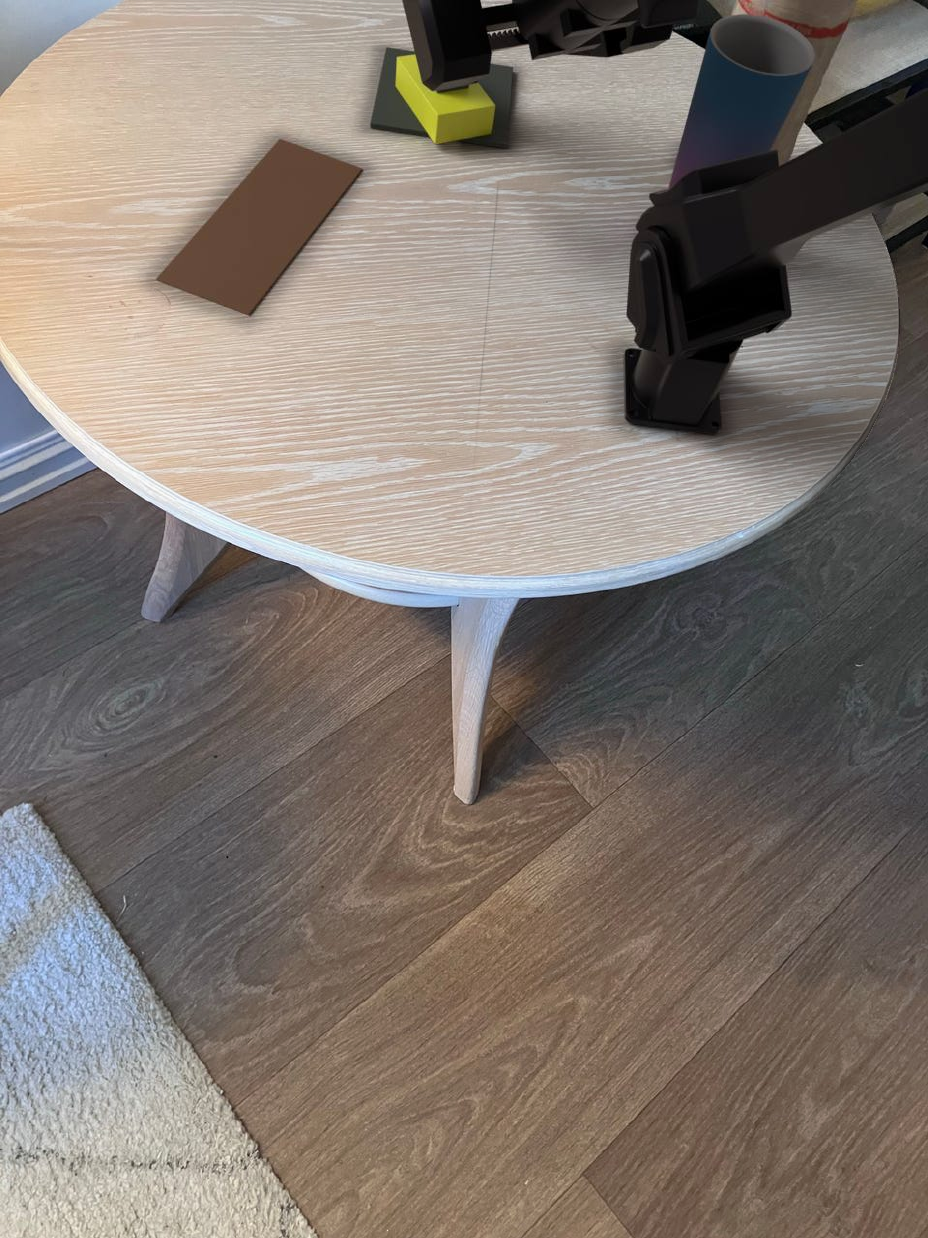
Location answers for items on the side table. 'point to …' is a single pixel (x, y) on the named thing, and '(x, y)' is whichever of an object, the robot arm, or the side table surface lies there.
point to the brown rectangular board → (260, 227)
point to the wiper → (445, 105)
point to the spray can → (821, 15)
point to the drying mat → (400, 118)
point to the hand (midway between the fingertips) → (490, 54)
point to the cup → (742, 91)
